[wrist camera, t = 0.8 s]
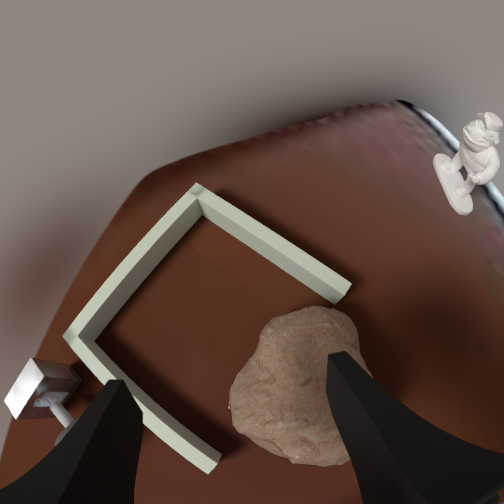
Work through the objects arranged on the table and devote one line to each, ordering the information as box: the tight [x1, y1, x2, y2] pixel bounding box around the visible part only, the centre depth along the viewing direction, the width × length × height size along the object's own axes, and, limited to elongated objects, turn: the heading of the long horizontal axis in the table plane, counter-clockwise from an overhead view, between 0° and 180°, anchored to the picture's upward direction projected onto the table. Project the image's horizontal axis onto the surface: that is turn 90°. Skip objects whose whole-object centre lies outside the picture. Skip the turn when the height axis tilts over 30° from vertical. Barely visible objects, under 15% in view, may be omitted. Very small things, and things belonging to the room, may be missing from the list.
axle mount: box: [4, 358, 83, 419], centre depth 19 cm, size 2×6×6 cm, turn 143°
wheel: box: [50, 401, 80, 446], centre depth 18 cm, size 6×5×5 cm
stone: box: [228, 306, 374, 467], centre depth 19 cm, size 12×9×10 cm
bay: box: [63, 183, 352, 474], centre depth 23 cm, size 16×18×3 cm
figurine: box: [433, 112, 503, 215], centre depth 25 cm, size 9×7×12 cm
